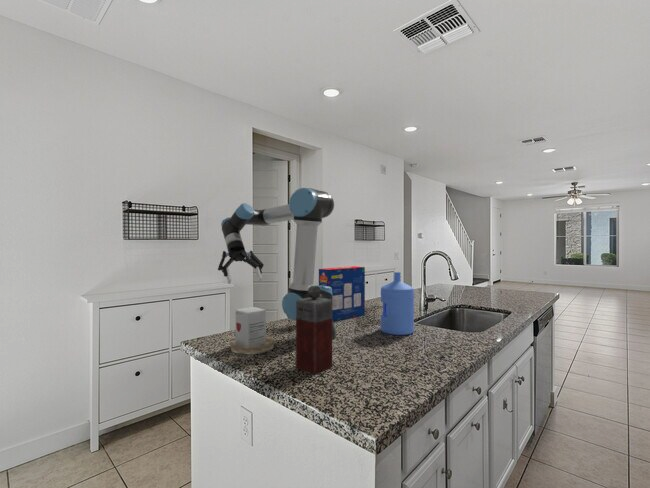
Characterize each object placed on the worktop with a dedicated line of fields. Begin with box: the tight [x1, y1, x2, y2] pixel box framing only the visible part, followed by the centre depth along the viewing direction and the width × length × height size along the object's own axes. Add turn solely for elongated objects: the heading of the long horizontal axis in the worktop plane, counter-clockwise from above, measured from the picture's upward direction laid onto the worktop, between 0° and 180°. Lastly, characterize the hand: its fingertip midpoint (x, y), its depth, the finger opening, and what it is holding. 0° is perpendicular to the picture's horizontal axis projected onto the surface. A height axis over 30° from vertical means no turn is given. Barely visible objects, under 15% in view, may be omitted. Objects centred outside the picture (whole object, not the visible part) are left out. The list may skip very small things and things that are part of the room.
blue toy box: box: [318, 265, 366, 323], centre depth 194 cm, size 28×8×28 cm, turn 131°
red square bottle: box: [295, 285, 333, 375], centre depth 119 cm, size 9×11×28 cm
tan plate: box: [229, 335, 275, 355], centre depth 141 cm, size 17×17×2 cm
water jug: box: [380, 271, 415, 336], centre depth 166 cm, size 16×16×28 cm
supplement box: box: [235, 306, 267, 347], centre depth 140 cm, size 9×9×15 cm
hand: (245, 280), depth 150 cm, fingers open, 13 cm apart
